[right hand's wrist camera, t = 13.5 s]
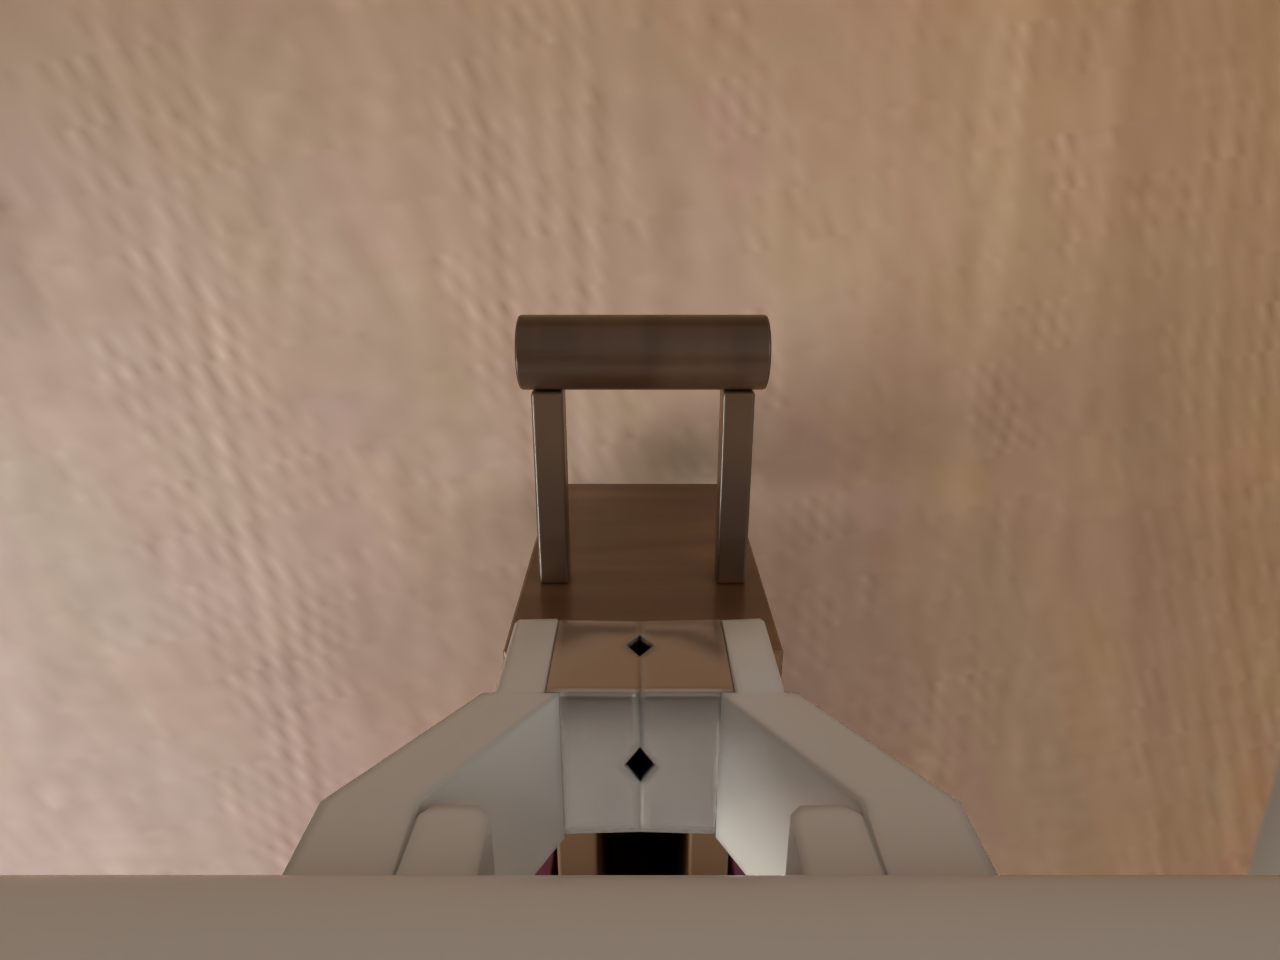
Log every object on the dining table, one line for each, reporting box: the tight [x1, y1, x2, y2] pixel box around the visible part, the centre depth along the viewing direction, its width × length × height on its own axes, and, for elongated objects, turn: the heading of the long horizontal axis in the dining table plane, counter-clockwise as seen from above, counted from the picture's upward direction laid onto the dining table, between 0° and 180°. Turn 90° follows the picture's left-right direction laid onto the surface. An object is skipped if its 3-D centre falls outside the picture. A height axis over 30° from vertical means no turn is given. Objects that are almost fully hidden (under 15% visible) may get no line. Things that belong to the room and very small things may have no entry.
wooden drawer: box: [503, 315, 783, 875], centre depth 21 cm, size 24×5×8 cm, turn 0°
